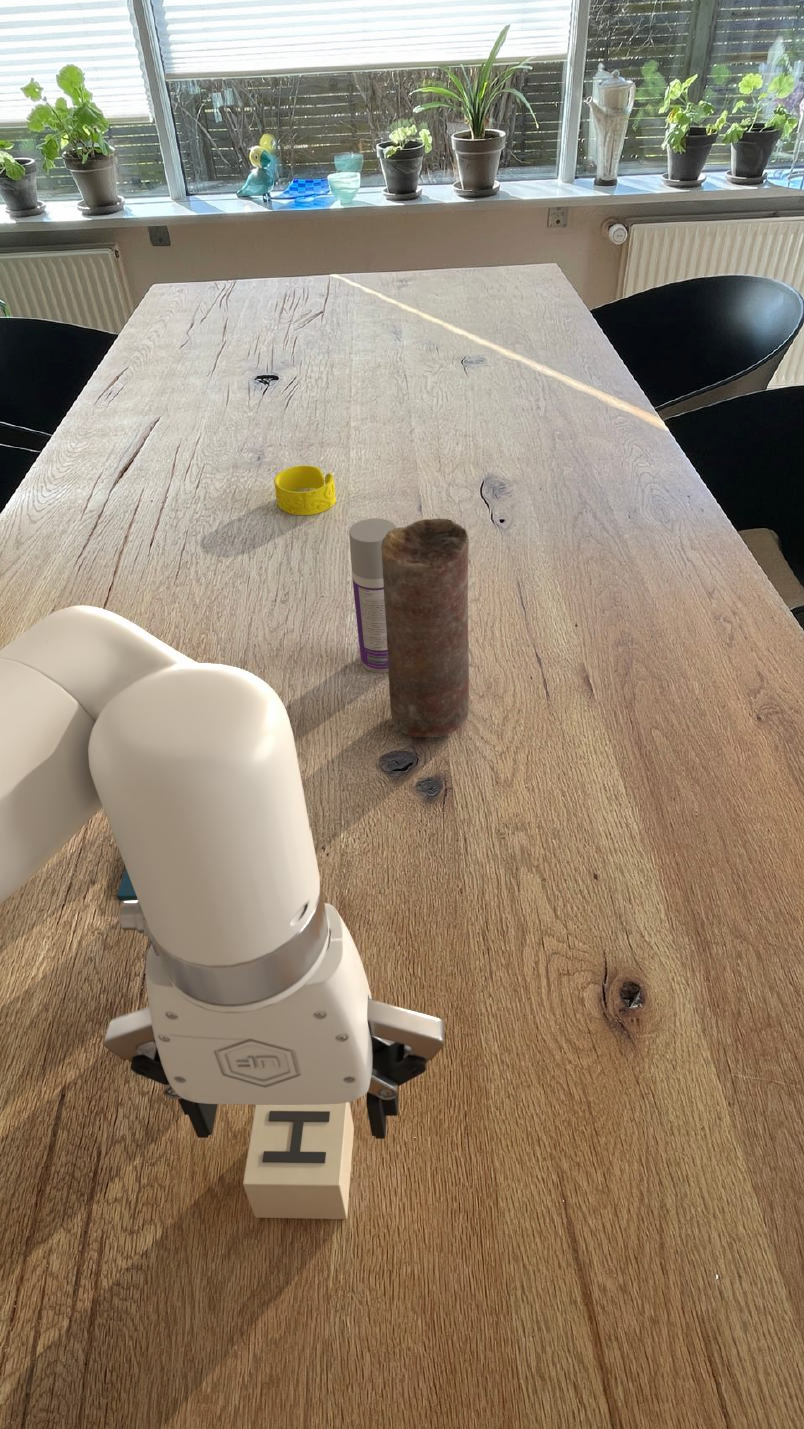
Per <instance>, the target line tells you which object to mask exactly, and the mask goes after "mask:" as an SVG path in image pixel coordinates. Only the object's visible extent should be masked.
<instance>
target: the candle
mask: <svg viewBox="0 0 804 1429" xmlns="http://www.w3.org/2000/svg"><path fill="white" fill-rule="evenodd" d="M381 551H382V567H383V584H384V603H385V616H386V629H387V652H388V670H389V672H388V690H389V692H388V693H389V706H390V707H389V708H390V716H391V718H392V721H393V723H394V724H395V725H396V728H397V729H398V730H399V731H400V732H401V733H403V734H404V735H408V736H410V737H414V738H421V737H422V738H439V737H447V736H449V735H452V733H454V732H455V731H457V730H458V729H459V728H461V727H462V726H464V725H465V724H466V723H467V719H468V717H469V712H470V711H469V707H470V706H469V703H470V672H469V671H470V670H469V665H470V664H469V663H470V662H469V536H468V533H467V530H466V528H464V527H463V526H462V525H461V524H458V523H456V522H455V521H453V520H452V519H449V518H432V519H430V518H429V519H428V518H424V519H420V520H415V521H413V522H411V523H410V524H407V526H405V527H400V526H399V527H396V528H394V529H393V530H391V531H389V532H388V533H387V534H386V536H385V537H384V538H383V541H382V546H381Z"/></svg>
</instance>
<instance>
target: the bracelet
mask: <svg viewBox="0 0 804 1429" xmlns="http://www.w3.org/2000/svg"><path fill="white" fill-rule="evenodd" d="M273 483H274V489H275V492H274V493H275V498H276V501H277V507H278V509H280V510H282V511H283V512H285V513H287V514H290V515H294V516H311V515H316V514H317V515H318V514H320V513H324V512H326V511H328V510H329V509H331V508H332V507H333V506H334V505H335V504H336V502H337V498H336V485H335V484H336V483H335V480H334V474H333V473H331V472H328V473H326V474H325V476H324V474H323V472H322V470H321V468H319V467H318V466H315V465H310V464H309V465H308V464H300V465H294V466H291V467H288V468H286V469H283V470H281V471H279V472H278V473H277V474H276V475H275V476H274V479H273ZM306 489H307V490H306ZM308 489H311V490H308ZM299 490H304V491H299ZM305 490H306V491H305Z"/></svg>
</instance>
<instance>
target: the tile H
mask: <svg viewBox="0 0 804 1429" xmlns="http://www.w3.org/2000/svg"><path fill="white" fill-rule="evenodd" d="M352 1114H353V1113H352V1110H351V1104H350V1102H346V1103H340V1104H319V1105H254V1112H253V1118H252V1124H251V1131H250V1136H249V1143H248V1149H247V1155H246V1162H245V1168H244V1175H243V1180H242V1185H243V1189H244V1192H245V1194H246V1197H247V1200H248V1203H249V1205H250V1207H251V1210H252V1214H253V1215H254V1218H257V1219H308V1220H309V1219H313V1220H316V1219H317V1220H347V1219H348V1212H349V1199H350V1189H351V1188H350V1187H351V1173H352V1163H353V1162H352V1161H353V1147H354V1137H355V1136H354V1135H355V1127H354V1126H355V1125H354V1120H353V1115H352Z"/></svg>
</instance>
